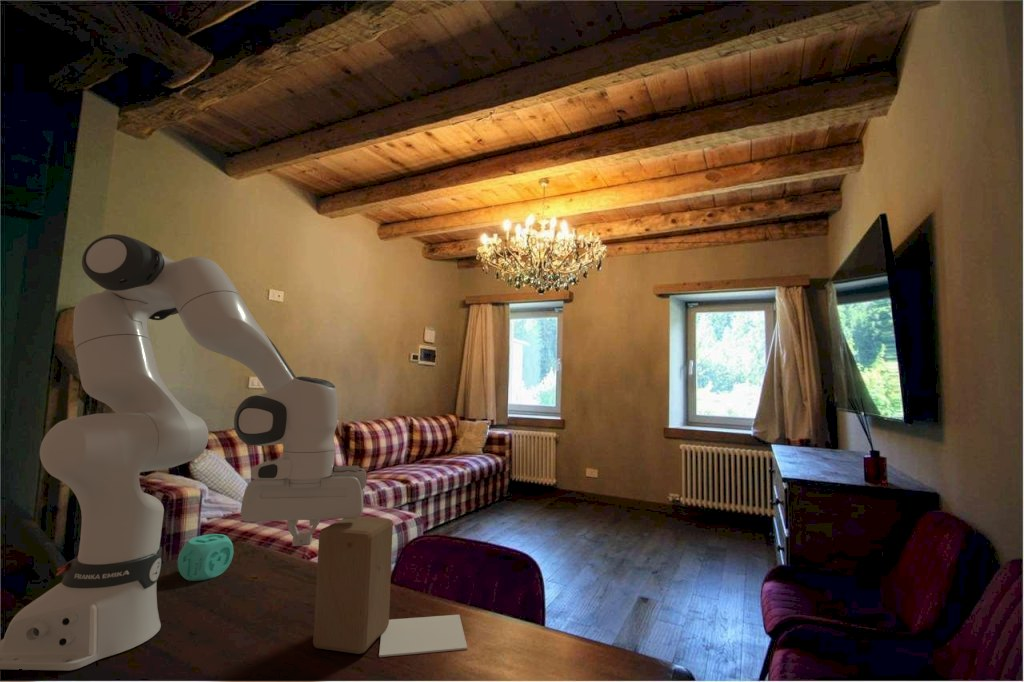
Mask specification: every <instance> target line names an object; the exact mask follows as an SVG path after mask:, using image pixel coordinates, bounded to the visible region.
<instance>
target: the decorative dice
mask: <svg viewBox="0 0 1024 682" xmlns="http://www.w3.org/2000/svg"><path fill="white" fill-rule="evenodd" d="M234 552H235V551H234V544H233V542H232V540H231V539H230V538H229V537H228V536H227V535H226V534H221V533H212V534H211V533H209V534H203V535H199V536H195V537H192V538H191V539H189V540H188V541H187V542H186V543H185V544H184V545H183V547H182V548H181V550H180V551H179V553H178V557H177V568H178V572H179V573H180V576H182V577H183V579H185V580H187V581H191V582H198V581H206V580H211V579H214V578H216V577H219V576H221V575H222V574H224V572H225V571H226V570H227V569H228V568H229V566H230V564H231V563H232V560H233V557H234Z"/></svg>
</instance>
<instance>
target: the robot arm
mask: <svg viewBox="0 0 1024 682" xmlns="http://www.w3.org/2000/svg"><path fill="white" fill-rule="evenodd" d="M81 258H82V259H81V266H82V270H83V271H84V274H86V275H87V277H88V278H89V279H91V281H92V282H94V283H95V284H96V285H98V286H99V287H101V288H103V289H105V290H103V291H102V292H96V293H92V294H89V295H87V296H85V297H82V298H81V299H79V301H78V302H77V303H76V305H75V307H74V310H73V318H72V319H73V320H72V322H73V323H72V335H73V345H74V346H73V347H74V352H75V357H76V361H77V368H78V372H79V379H80V383H81V387H82V389H83V390H84V392H85V393H86V394H87V395H88V396H89V397H91V398H93V399H94V400H97V401H99V402H101V403H103V404H105V405H106V406H108V407H110V408H111V409H112V411H114V412H109V413H108V412H105V413H104V412H103V413H93V414H87V415H82V416H81V415H80V416H77V417H72V418H68V419H64V420H61V421H58V422H57V423H56V424H54V426H52V427H51V428H50V429H49V430H48V431H47V433H45V435H44V437H43V439H42V441H41V444H40V448H39V459H40V462H41V465H42V466H43V468H44V469H45V471H46V472H47V473H48V474H49V475H50V476H52V477H54V478H55V479H57V480H59V481H61V482H62V483H64V484H65V486H66V485H67V486H68V488H70V490H71V491H72V493H74V495H75V497H76V499H77V501H78V504H79V508H80V511H81V512H80V513H81V524H80V525H81V526H80V539H79V540H80V541H79V546H78V547H79V548H78V555H77V556H76V557H75V558H73V559H71V560H70V561H68V562H66V563H65V564H64V565H63V566H61V567H59V568H57V569H56V571H58V572H57V573H56V575H55V576H60V575H62V574H64V575H63V578H62V580H61V582H59V583H58V584H56V585H55V586H54V587H52V588H50V589H49V590H47V591H46V592H45V593H43V594H42V595H40V596H39V597H37V598H36V599H34V600H32V601H31V602H30V603H29V604H27V605H26V606H24V607H23V608H21V609H20V610H19V611H18V612H17V613H16V614H15V615H14V617H13V618H12V619H11V621H10V622H9V624H8V626H7V629H6V632H5V634H4V637H3V638H2V639H1V640H0V670H19V669H22V670H21V671H30V670H32V671H74V670H78V669H81V668H83V667H86V666H88V665H90V664H92V663H94V662H96V661H99V660H101V659H104V658H107V657H108V658H109V657H111V656H114V655H117V654H120V653H123V652H126V651H129V650H131V649H134V648H135V647H138V646H140V645H142V644H144V643H145V642H147V641H149V640H150V639H152V638H153V637H154V636H155V635H157V633H158V632H159V631H160V630H161V626H162V623H161V620H160V615H159V610H158V599H157V598H158V596H157V595H158V594H157V592H158V591H157V586H158V585H157V582H158V580H159V576H160V573H161V568H162V567H161V566H162V552H163V547H162V546H161V538H162V529H163V522H164V513H165V508H164V505H163V503H162V501H160V499H158V498H157V497H155V496H154V495H151V494H149V493H146V492H144V491H143V490H142V487H141V482H140V474H141V473H145V472H151V471H158V470H159V471H160V470H165V469H172V468H175V467H178V466H180V465H184V464H186V463H189V462H191V461H194V460H196V459H198V458H199V457H200V456H201V455H202V454H203V453H204V451H205V449H206V447H207V445H208V443H209V438H210V437H209V436H210V435H209V430H208V429H209V428H208V426H207V424H206V422H205V421H204V420H203V418H202V417H200V416H199V415H196V414H195V413H194V412H191V411H190V410H189V409H187V408H186V407H184V406H183V404H181V402H180V401H178V400H177V398H176V397H175V396H174V394H173V393H172V392H171V390H169V389H168V387H167V386H166V384H165V382H164V380H163V378H162V376H161V373H160V371H159V368H158V364H157V360H156V357H155V354H154V349H153V345H152V340H151V338H150V333H149V329H148V322H149V319H150V320H152V321H162V320H165V319H166V318H169V317H170V316H173V315H179V317H180V320H181V322H182V324H183V325H184V328H185V330H186V331H187V333H188V334H189V336H190V337H192V339H193V340H194V341H195V342H196V344H198V345H199V346H200V347H202V348H204V349H207V350H208V351H211V352H213V353H217V354H219V355H222V356H225V357H227V358H229V359H232V360H234V361H236V362H239V363H240V364H242V365H244V366H246V367H247V368H249V370H251V372H253V374H254V375H255V376H256V378H257V379H258V380H259V383H260V384H261V385H262V386H263V388H264V389H265V392H263V393H259V394H256V395H252V396H251V395H250V396H249V397H246V398H244V400H242V402H241V403H240V404H239V405H238V407H237V408H236V410H235V413H234V418H233V426H234V427H233V428H234V431H235V434H236V435H237V437H238V438H239V440H240V441H241V442H242V443H244V444H246V445H248V446H256V447H265V446H276V445H282V455H281V457H274V458H273V459H272V458H271V459H269V460H266V461H263V462H260V463H259V464H257V465H255V466H254V467H253V468H252V469H251V473H250V474H251V479H253V480H251V481H250V482H249V483H248V484H247V485H246V487H245V490H244V492H243V493H244V494H243V496H242V502H241V507H240V518H241V519H242V520H243V521H244V522H249V523H250V522H253V523H254V522H273V521H274V522H281V521H287V523H286V524H287V525H286V527H287V529H288V531H289V533H290V535H291V537H292V541H291V542H292V543H291V544H292V545H291V546H293V547H297V546H299V547H300V546H311V544H312V540H313V533H314V532H315V530H316V528H317V527H318V526H319V524H320V522H321V520H342V519H347V518H358V517H359V516H360V517H361V515H362V513H363V512H364V489H365V487H366V486H367V479H368V474H367V472H366V470H365V469H364V468H362V467H360V466H359V465H335V456H336V443H335V433H336V430H337V426H338V418H339V417H338V416H339V414H338V413H339V403H338V402H339V400H338V398H339V397H338V392H337V388H336V386H335V385H334V384H333V383H332V382H330V381H329V380H326V379H321V378H317V377H311V376H296V374H295V373H294V372H293V371H292V369H291V367H290V365H289V364H288V362H287V361H286V359H285V358H284V357H283V355H282V354H281V352H280V351H279V349H278V348H277V346H276V345H275V343H273V341H272V340H271V338H270V337H269V336H268V335H267V334H266V333H265V331H264V330H263V329H262V327H261V326H260V325H259V324H258V322H257V320H256V319H255V317H254V316H253V314H252V313H251V312H250V310H249V309H248V307H247V305H246V303H245V301H244V300H243V298H242V296H241V294H240V292H239V291H238V289H237V287H236V286H235V284H234V283H233V281H232V279H230V278H229V276H228V274H226V272H225V270H224V269H222V267H221V266H220V265H219V264H218V263H217V261H216V262H215V261H214V260H213V259H211V258H207V257H204V256H190V257H186V258H182V259H181V260H176V261H174V260H173V259H171V258H170V257H168V256H167V255H165V254H164V253H163V252H161V251H160V250H158V249H156V248H154V247H152V246H151V245H149V244H147V243H145V242H144V241H141V240H138V239H136V238H133V237H131V236H127V235H124V234H115V233H114V234H112V233H111V234H108V235H107V234H106V235H102V236H100V237H98V238H96V239H95V240H93V241H92V242H91V243H90V244H89V245H87V247H86V248H85V250H84V252H83V254H82V257H81ZM299 521H309V523H308V525H309V526H310V527H311V528H310V529H309V530H308V531H309V532H299V529H298V528H297V524H298V523H299ZM19 671H20V670H19Z"/></svg>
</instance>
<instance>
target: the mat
mask: <svg viewBox="0 0 1024 682" xmlns="http://www.w3.org/2000/svg"><path fill="white" fill-rule="evenodd" d="M462 624H463V623H462V620H461V615H460V614H450V615H449V614H448V615H434V616H423V617H422V616H421V617H408V618H392V619H389V624H388V627H387V629H386V630H385V631H384V632H383V633H382V634H381V635H380V642H379V643H380V644H379V653H378V657H379V658H385V657H394V656H395V657H397V656H406V655H407V656H409V655H418V654H420V655H421V654H429V653H430V654H431V653H441V652H450V651H452V652H453V651H461V650H463V651H464V650H468V643H467V641H466V636H465V633H464V628H463V625H462Z"/></svg>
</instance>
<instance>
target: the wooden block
mask: <svg viewBox="0 0 1024 682" xmlns="http://www.w3.org/2000/svg"><path fill="white" fill-rule="evenodd" d="M393 525H394V523H393V520H392V519H390V518H385V517H373V516H371V517H370V516H361V515H360V516H359V517H358V518H347V519H339V520H338V521H336V522H334V523H331V524H330V525H328V526H326V527H324V528H321V530H320V531H319V533H318V551H317V564H316V565H317V568H316V583H315V585H316V586H315V599H314V600H315V602H314V605H315V606H314V618H313V620H314V621H313V635H312V636H313V637H312V644H313V647H314V648H316V649H321V650H322V649H323V650H330V651H335V652H342V653H343V652H344V653H349V654H357V655H359V654H360V655H361V654H364V653H365V652H367V650H368V649H369V648H370V647H371V646H372V645H373V644H374V643H375V642H376V640H377V639H378V638H380V637H381V634H382V633H383V632H384V631H385V630H386V629H387V627H388V624H389V620H390V606H391V605H390V603H391V602H390V601H391V578H392V576H391V575H392V556H393V555H392V551H393V530H394V529H393Z"/></svg>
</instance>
